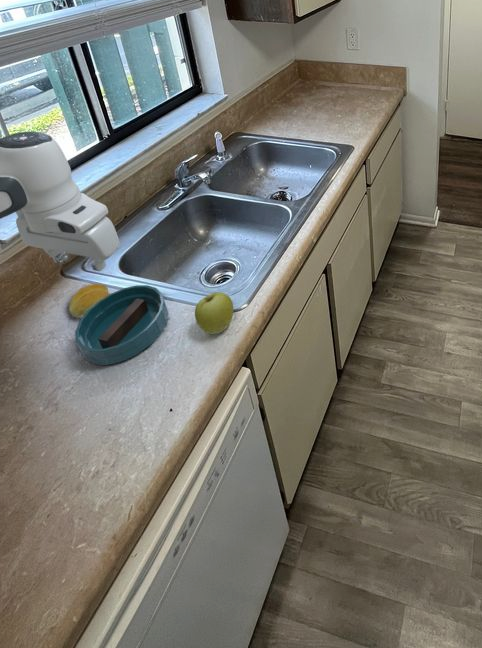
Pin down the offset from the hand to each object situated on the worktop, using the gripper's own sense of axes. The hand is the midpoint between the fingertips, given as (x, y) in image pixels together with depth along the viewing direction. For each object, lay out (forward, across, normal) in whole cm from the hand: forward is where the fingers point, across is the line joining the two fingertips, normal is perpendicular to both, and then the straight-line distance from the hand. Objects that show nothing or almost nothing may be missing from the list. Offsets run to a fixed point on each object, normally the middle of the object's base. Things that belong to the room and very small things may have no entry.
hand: (81, 264), depth 88 cm
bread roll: (+23, -14, +7) cm, 28 cm away
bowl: (+23, +1, +3) cm, 23 cm away
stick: (+22, +1, +3) cm, 23 cm away
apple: (+23, +20, +9) cm, 32 cm away
